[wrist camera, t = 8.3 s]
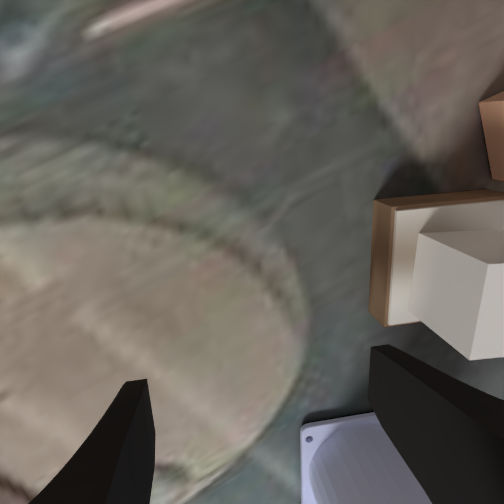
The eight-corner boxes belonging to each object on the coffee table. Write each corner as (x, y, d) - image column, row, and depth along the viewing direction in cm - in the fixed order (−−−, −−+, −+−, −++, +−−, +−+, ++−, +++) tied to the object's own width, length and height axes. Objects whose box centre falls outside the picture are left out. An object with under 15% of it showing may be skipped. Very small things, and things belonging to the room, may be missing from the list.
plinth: (467, 295, 26) (496, 313, 23) (366, 309, 25) (385, 329, 22) (482, 188, 23) (515, 195, 21) (371, 198, 22) (393, 207, 20)
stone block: (479, 304, 23) (557, 351, 18) (408, 310, 22) (469, 360, 17) (494, 229, 21) (582, 258, 17) (418, 232, 21) (488, 264, 16)
